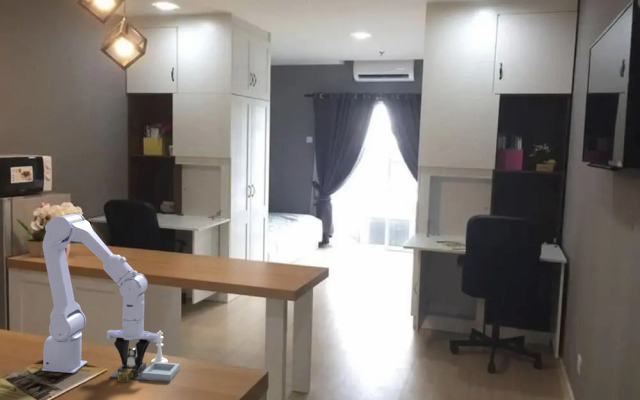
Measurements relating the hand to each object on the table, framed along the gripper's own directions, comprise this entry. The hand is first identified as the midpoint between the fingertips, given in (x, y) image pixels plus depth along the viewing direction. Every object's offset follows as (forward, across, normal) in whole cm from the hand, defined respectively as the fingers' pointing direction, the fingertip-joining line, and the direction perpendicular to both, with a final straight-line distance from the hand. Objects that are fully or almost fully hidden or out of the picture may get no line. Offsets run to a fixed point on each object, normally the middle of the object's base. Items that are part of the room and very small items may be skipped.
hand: (132, 364), depth 156 cm
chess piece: (+3, +5, +8) cm, 10 cm away
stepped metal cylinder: (+2, 0, 0) cm, 2 cm away
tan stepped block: (+2, 0, -4) cm, 5 cm away
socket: (+2, 0, 0) cm, 2 cm away
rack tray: (+2, +8, 0) cm, 9 cm away
